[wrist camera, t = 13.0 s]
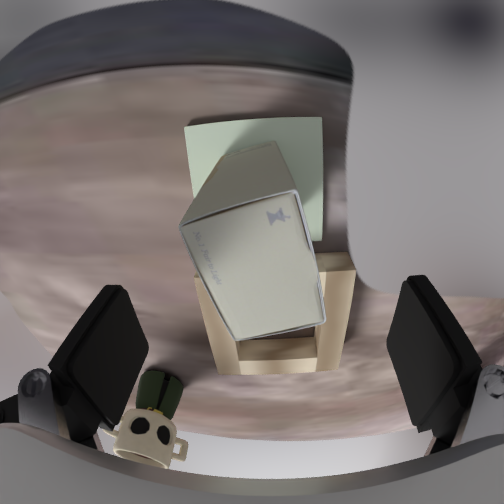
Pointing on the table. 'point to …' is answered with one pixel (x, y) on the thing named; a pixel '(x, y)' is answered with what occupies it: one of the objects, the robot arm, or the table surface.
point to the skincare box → (254, 245)
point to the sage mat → (257, 132)
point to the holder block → (292, 349)
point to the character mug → (151, 423)
